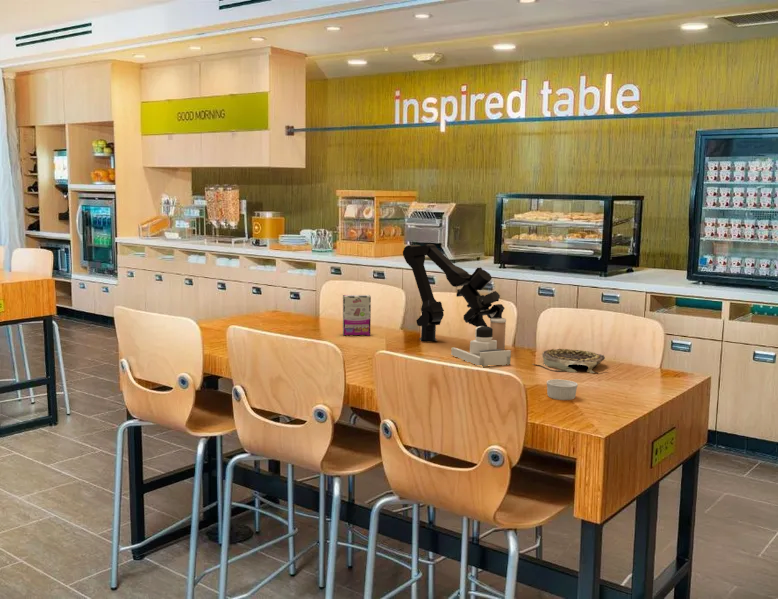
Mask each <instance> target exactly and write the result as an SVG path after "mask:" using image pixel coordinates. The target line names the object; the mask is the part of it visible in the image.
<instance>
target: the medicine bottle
mask: <svg viewBox="0 0 778 599" xmlns="http://www.w3.org/2000/svg"><path fill="white" fill-rule="evenodd" d="M487 326H488V325H487ZM487 326H479V327H476V326H475V329H474V330H475V331H474V339H473V340H472V339H471V340H470V341H469V353H472V354H474V355H477V356H480V350H492V349H497V341H496V340H491V339H492V335H493V329H492V328H491V327H490V326H488V327H487Z"/></svg>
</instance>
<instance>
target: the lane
mask: <svg viewBox="0 0 778 599" xmlns="http://www.w3.org/2000/svg"><path fill="white" fill-rule="evenodd" d="M501 350H502V349H492V350H480V356H477V355H474V354H472V353H470V351H466V350H464V349H461V348H457V347H451V350H450V351H451V353H450V354H451V355H453V356H455V357H458V358H461V359H463V360H465V361H464V362H466V361H467V362H466V363H468V362H471V363H473V364H476V365H482V366H483V367H482V368H485V367H484V366H488V365H502V366H510V365H511V357H512V356H511V355H512V350H510V349H507V350H504V351H501ZM451 355H450V356H451ZM453 356H452V357H453ZM455 357H454V358H455ZM458 358H457V359H458ZM463 360H462V361H463ZM471 363H470V364H471ZM473 364H472V365H473ZM506 364H507V365H506ZM509 364H510V365H509ZM476 365H475V366H476Z"/></svg>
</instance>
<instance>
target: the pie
mask: <svg viewBox="0 0 778 599" xmlns="http://www.w3.org/2000/svg"><path fill="white" fill-rule="evenodd" d="M541 355H542V358H543V362H542V364H543V365H544V364H545V365H544V366H543V368H546V369H548V370H550V371H552V372H566V373H578V371H577V370H576V369H573V368H572V367H569V365H577V366H579V365H580V366H581V365H582V366H586V367H588V368H587V370H586V373H588V372H589V374H593V373H596V374H598V373H599V372H597V371H594V369H595V367H596V366H598V365H599V364H600V363H601V362H602V361H604V360H605V359H606V358H605V355H604V354H599V353H596V352H593V351H590V350H589V351H588V350H582V349H569V348H557V349H555V348H552V349H547V350H544V351H543V352H542V354H541ZM533 365H536V364H534V363H533ZM546 365H547V366H546ZM539 366H540V367H542V365H540V364H539ZM545 366H546V367H545ZM547 367H548V368H547ZM549 368H552V369H557V370H552V369H549ZM592 369H593V370H592Z"/></svg>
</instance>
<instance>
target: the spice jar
mask: <svg viewBox="0 0 778 599" xmlns="http://www.w3.org/2000/svg"><path fill="white" fill-rule="evenodd" d="M489 321H490V326H489V327H491V328H492V329H493V335H492V339H491V340H496V341H497V349H502V350H501V351H504V350H505V348H506V347H505V346H506V344H505V343H506V328H507V327H506V325H507V324H506V323H507V319H506V318H504V317H502V318H489Z"/></svg>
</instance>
